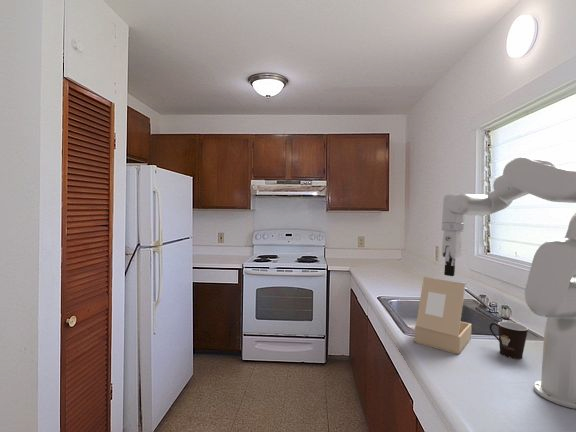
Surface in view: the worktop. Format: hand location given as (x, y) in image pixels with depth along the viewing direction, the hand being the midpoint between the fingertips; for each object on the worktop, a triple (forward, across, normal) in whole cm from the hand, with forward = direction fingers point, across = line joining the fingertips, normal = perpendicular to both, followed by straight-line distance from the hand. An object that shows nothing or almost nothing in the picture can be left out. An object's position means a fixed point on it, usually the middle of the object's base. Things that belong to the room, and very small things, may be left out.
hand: (449, 275), depth 132 cm
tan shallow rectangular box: (+24, -5, -1) cm, 24 cm away
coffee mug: (+24, 0, -21) cm, 31 cm away
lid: (+9, -11, 0) cm, 14 cm away
